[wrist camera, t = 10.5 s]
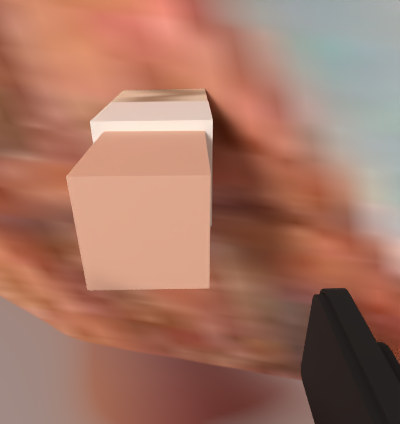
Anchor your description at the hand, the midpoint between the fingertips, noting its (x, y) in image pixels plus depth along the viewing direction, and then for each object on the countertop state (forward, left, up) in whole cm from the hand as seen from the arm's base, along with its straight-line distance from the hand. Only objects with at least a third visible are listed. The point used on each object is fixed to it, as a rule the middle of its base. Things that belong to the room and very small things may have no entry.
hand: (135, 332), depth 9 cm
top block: (0, 0, -11) cm, 11 cm away
